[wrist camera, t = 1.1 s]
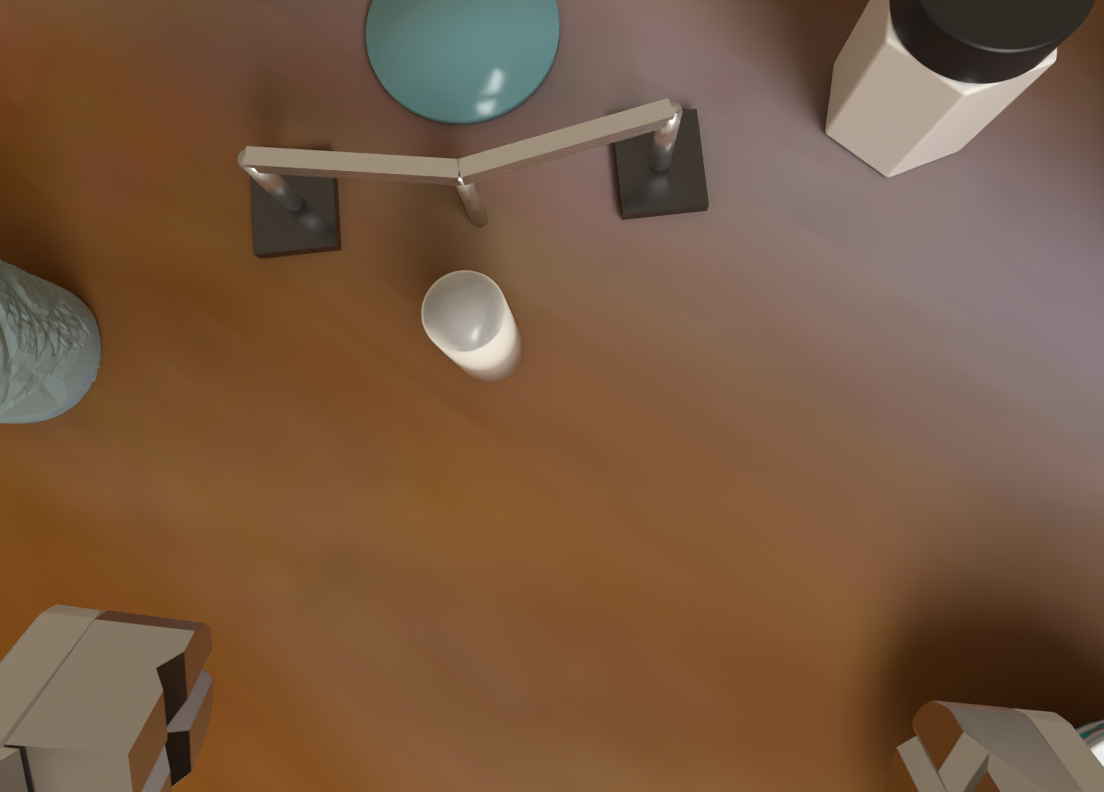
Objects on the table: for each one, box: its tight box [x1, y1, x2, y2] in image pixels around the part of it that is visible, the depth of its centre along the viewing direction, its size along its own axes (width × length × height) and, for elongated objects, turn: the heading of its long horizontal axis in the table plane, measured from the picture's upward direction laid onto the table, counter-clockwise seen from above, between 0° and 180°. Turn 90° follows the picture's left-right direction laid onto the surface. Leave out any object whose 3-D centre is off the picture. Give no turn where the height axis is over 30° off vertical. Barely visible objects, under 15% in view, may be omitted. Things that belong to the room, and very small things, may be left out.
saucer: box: [366, 0, 560, 125], centre depth 46 cm, size 12×12×1 cm
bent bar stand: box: [238, 98, 709, 259], centre depth 41 cm, size 27×6×7 cm, turn 95°
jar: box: [825, 0, 1095, 177], centre depth 38 cm, size 9×8×12 cm
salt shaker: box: [421, 270, 524, 383], centre depth 39 cm, size 4×4×9 cm
